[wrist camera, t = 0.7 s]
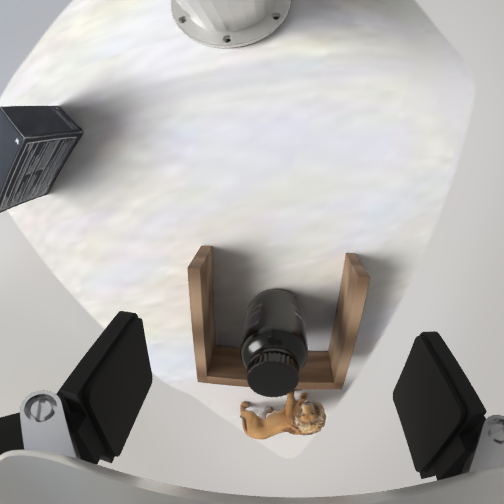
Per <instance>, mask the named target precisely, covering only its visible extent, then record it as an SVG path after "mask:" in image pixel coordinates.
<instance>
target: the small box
mask: <svg viewBox="0 0 504 504" xmlns="http://www.w3.org/2000/svg"><path fill="white" fill-rule="evenodd" d="M82 134H83V131H82V130H81V129H80V128H79V127H78V126H77V125H76V124H75V123H74V122H73V121H72V120H71V119H70V118H69V117H68V116H67V115H66V114H65V112H64V111H63V110H62V109H61V108H59V107H58V106H10V107H0V212H3V211H5V210H7V209H10V208H12V207H14V206H17V205H19V204H22V203H25V202H27V201H30V200H33V199H35V198H38V197H41V196H44V195H47V194H48V192H49V190H50V188H51V186H52V184H53V183H54V181H55V179H56V177H57V175H58V173H59V172H60V170H61V168H62V166H63V165H64V163H65V161H66V160H67V158H68V156H69V155H70V153H71V151H72V150H73V148H74V147H75V145H76V143H77V142H78V140H79V139H80V137H81V135H82Z"/></svg>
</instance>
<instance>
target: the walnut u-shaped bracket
mask: <svg viewBox="0 0 504 504" xmlns="http://www.w3.org/2000/svg"><path fill="white" fill-rule="evenodd" d="M369 280H370V276H369V275H368V273H367V271H366V270H365V268H364V266H363V265H362V263H361V261H360V260H359V258H358V256H357V255H356V254H348V253H346V256H345V263H344V269H343V276H342V282H341V288H340V294H339V299H338V305H337V310H336V316H335V321H334V326H333V331H332V336H331V341H330V346H329V350H328V351H308V358H307V361H306V363H305V365H304V367H303V368H302V369H301V370H300V372H299V382H298V385H297V386H296V388H295V389H342V387H343V384H344V380H345V377H346V374H347V370H348V367H349V363H350V360H351V356H352V352H353V349H354V345H355V341H356V337H357V333H358V329H359V325H360V321H361V317H362V313H363V308H364V304H365V299H366V294H367V290H368V285H369ZM188 282H189V296H190V309H191V321H192V332H193V342H194V352H195V361H196V370H197V379H198V382H203V383H212V384H221V385H232V386H244V387H250V386H249V385H248V383H247V378H246V377H247V369H246V368H245V367H244V365H243V363H242V361H241V357H240V348H238V347H226V346H215V328H214V304H213V273H212V246H201V247H200V249H199V250H198V252H197V254H196V255H195V257H194V258H193V260H192V262H191V263H190V265H189V266H188Z"/></svg>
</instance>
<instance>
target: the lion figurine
mask: <svg viewBox="0 0 504 504" xmlns="http://www.w3.org/2000/svg"><path fill="white" fill-rule="evenodd" d="M295 390H296V389H294V390H293V391H291V392H290V393H289V394H287V395H288V398H287V403H286V406H285V409H281V410H277V411H275V412H273V413H271V412H272V411H273V409H272V408H271V407H267V408H265V409H264V411H263V412H262V413H261V414H260V415H259V416H257V415H256V414H255V413H253V412H251V411H247V410H245V409H246V408H248V407H249V403H247V402H242V403H241V415H240V417H241V418H242V423H243V429H244V431H245V433H246V434H247V435H248V436H249V437H251V438H255V439H266V438H269V437H271V436H273V435H276V434H278V433H282V432H289V433H291V434H297V435H298V434H300V435H311V434H313V433H317V432H319V431H320V430H321V428H322V427H324V425H325V420H326V415H325V413H324V408H323V406H322V404H321V403H318V402H315V401H310V400H308V399H306V398H307V394H306V393H302V394H300V395H299V399H298V401H297V402H296V401H295V398H294V391H295ZM267 413H271V414H270V415H268V416H267V417H266V414H267Z"/></svg>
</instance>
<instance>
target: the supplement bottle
mask: <svg viewBox="0 0 504 504" xmlns="http://www.w3.org/2000/svg"><path fill="white" fill-rule="evenodd" d="M240 357H241V361H242V363H243V365H244V367H245V368H246V369H247V377H246V378H247V383H248V385H249V386H250V388H251V389H252V390H253V391H254V392H256V393H257V394H260V395H262V396H266V397H279V396H283V395H287V394H289V393H290V392H291V391H293V390H294V389H295V388H296V386H297V385H298V382H299V372H300V370H301V369H302V368H303V367H304V365H305V363H306V361H307V358H308V345H307V335H306V327H305V318H304V311H303V307H302V305H301V303H300V301H299V300H298V299H297V298H296V297H295V296H294V295H293V294H291V293H289V292H287V291H284V290H279V289H272V290H267V291H264V292H262V293H260V294H258V295H257V296H256V297H254V298H253V300H252V301H251V302H250V304H249V307H248V310H247V315H246V320H245V325H244V331H243V336H242V342H241V347H240Z"/></svg>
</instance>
